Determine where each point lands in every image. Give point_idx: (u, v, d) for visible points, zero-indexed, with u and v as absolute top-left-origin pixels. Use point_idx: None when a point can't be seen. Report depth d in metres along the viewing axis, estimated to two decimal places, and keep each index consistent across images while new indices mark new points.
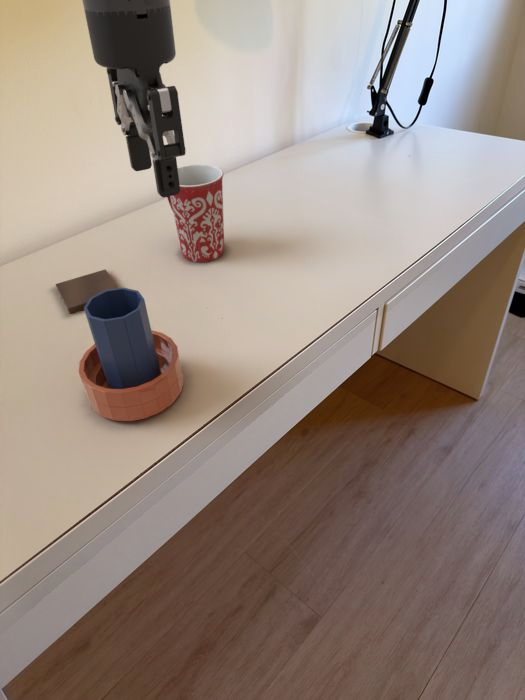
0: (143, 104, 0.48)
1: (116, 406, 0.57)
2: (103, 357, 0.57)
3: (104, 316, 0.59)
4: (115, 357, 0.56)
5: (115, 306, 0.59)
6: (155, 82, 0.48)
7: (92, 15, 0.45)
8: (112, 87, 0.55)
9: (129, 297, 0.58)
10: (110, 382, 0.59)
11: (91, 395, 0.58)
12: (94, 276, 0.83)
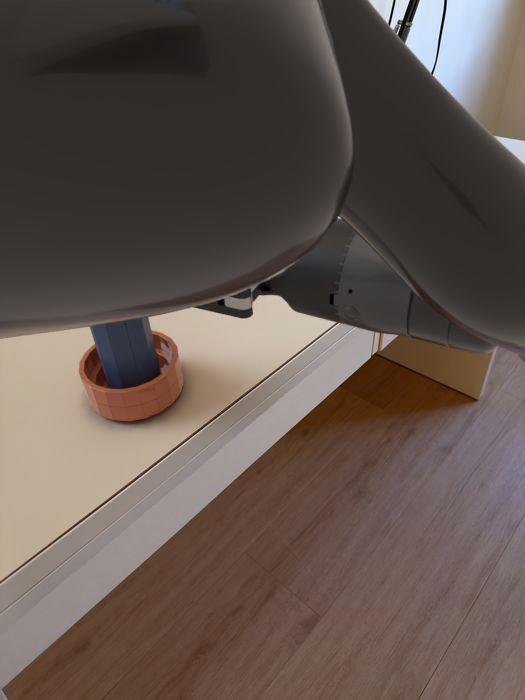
0: None
1: (116, 406, 0.57)
2: (103, 357, 0.57)
3: None
4: (115, 357, 0.56)
5: None
6: (267, 287, 0.39)
7: (349, 237, 0.36)
8: None
9: None
10: (110, 382, 0.59)
11: (91, 395, 0.58)
12: None
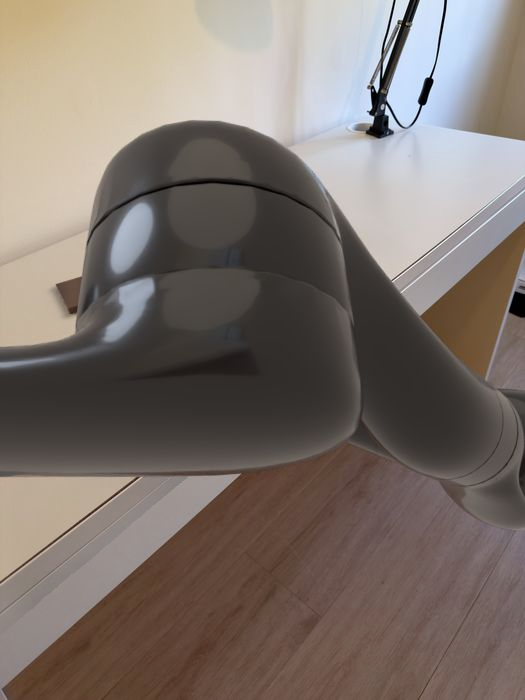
0: None
1: None
2: None
3: None
4: None
5: None
6: None
7: None
8: None
9: None
10: None
11: None
12: None
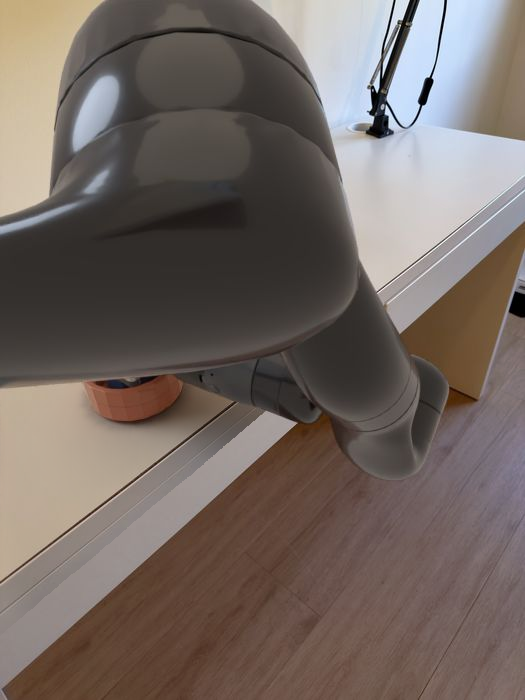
0: None
1: (116, 406, 0.57)
2: None
3: None
4: None
5: None
6: None
7: None
8: None
9: None
10: (110, 382, 0.59)
11: (91, 395, 0.58)
12: None
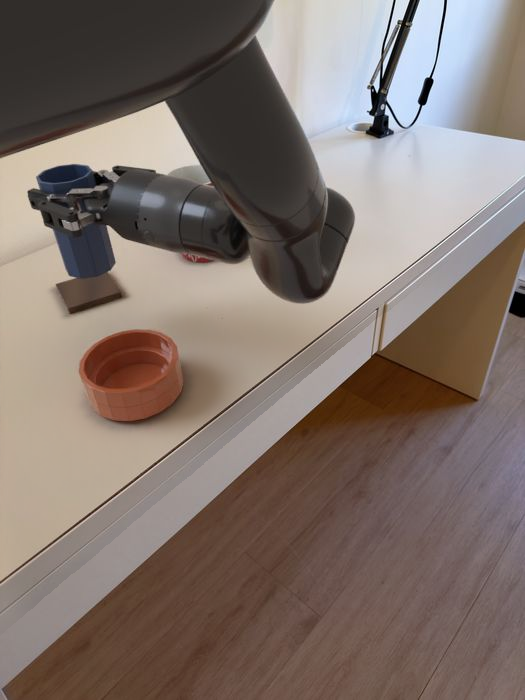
0: (87, 203, 0.55)
1: (116, 406, 0.57)
2: None
3: None
4: None
5: None
6: (99, 219, 0.55)
7: (147, 182, 0.52)
8: None
9: (80, 173, 0.62)
10: (63, 255, 0.64)
11: (91, 395, 0.58)
12: None
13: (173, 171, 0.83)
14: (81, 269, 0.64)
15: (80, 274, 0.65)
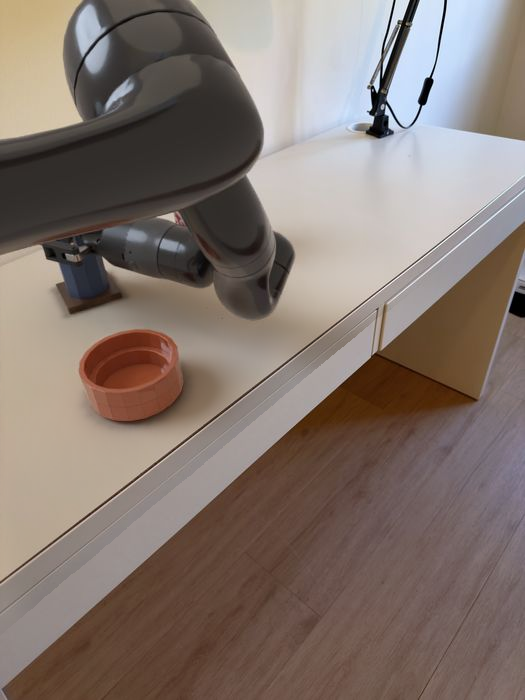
0: (83, 237, 0.68)
1: (116, 406, 0.57)
2: None
3: None
4: None
5: None
6: (94, 250, 0.68)
7: (132, 222, 0.65)
8: None
9: None
10: (65, 279, 0.77)
11: (91, 395, 0.58)
12: None
13: None
14: (80, 291, 0.77)
15: (80, 295, 0.78)
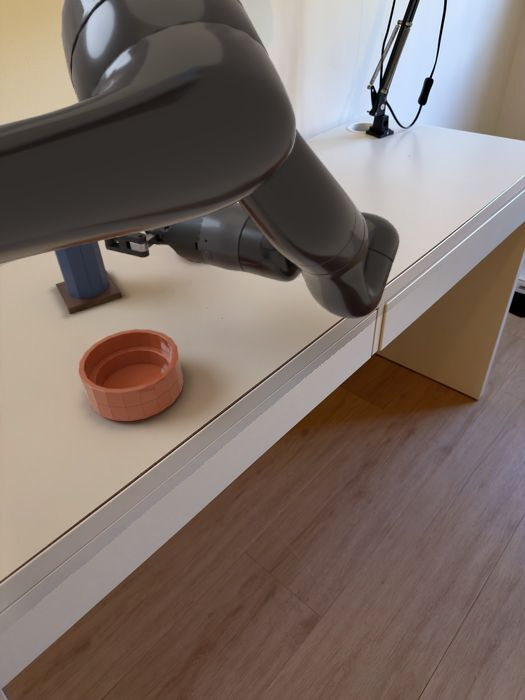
0: None
1: (116, 406, 0.57)
2: (59, 257, 0.74)
3: None
4: (67, 256, 0.73)
5: None
6: (161, 239, 0.60)
7: None
8: None
9: None
10: (65, 279, 0.77)
11: (91, 395, 0.58)
12: None
13: None
14: (80, 291, 0.77)
15: (80, 295, 0.78)
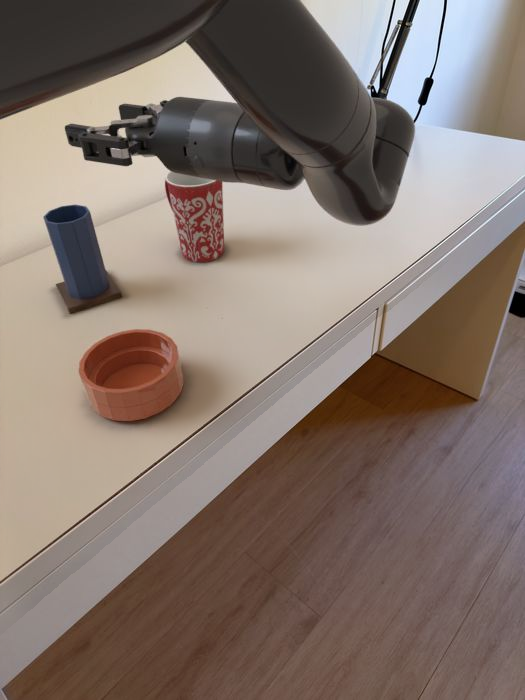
0: (132, 131, 0.54)
1: (116, 406, 0.57)
2: (59, 257, 0.74)
3: None
4: (67, 256, 0.73)
5: (70, 220, 0.76)
6: (145, 148, 0.54)
7: (196, 106, 0.51)
8: None
9: (79, 212, 0.75)
10: (65, 279, 0.77)
11: (91, 395, 0.58)
12: None
13: None
14: (80, 291, 0.77)
15: (80, 295, 0.78)
